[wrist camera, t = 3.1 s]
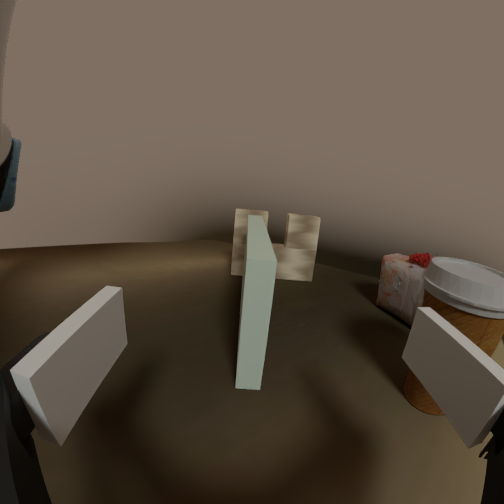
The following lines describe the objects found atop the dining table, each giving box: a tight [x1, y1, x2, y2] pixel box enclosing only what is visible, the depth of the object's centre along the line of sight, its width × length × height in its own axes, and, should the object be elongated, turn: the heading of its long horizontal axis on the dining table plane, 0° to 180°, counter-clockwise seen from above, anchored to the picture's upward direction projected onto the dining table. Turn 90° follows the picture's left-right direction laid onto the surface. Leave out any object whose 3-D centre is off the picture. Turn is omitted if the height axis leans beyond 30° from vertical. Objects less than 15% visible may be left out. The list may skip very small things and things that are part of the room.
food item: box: [376, 253, 438, 327], centre depth 36 cm, size 14×8×10 cm, turn 18°
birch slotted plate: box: [231, 209, 321, 281], centre depth 50 cm, size 14×2×11 cm, turn 90°
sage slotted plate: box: [235, 215, 277, 390], centre depth 32 cm, size 24×2×11 cm, turn 0°
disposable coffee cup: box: [403, 257, 504, 415], centre depth 19 cm, size 10×10×12 cm
